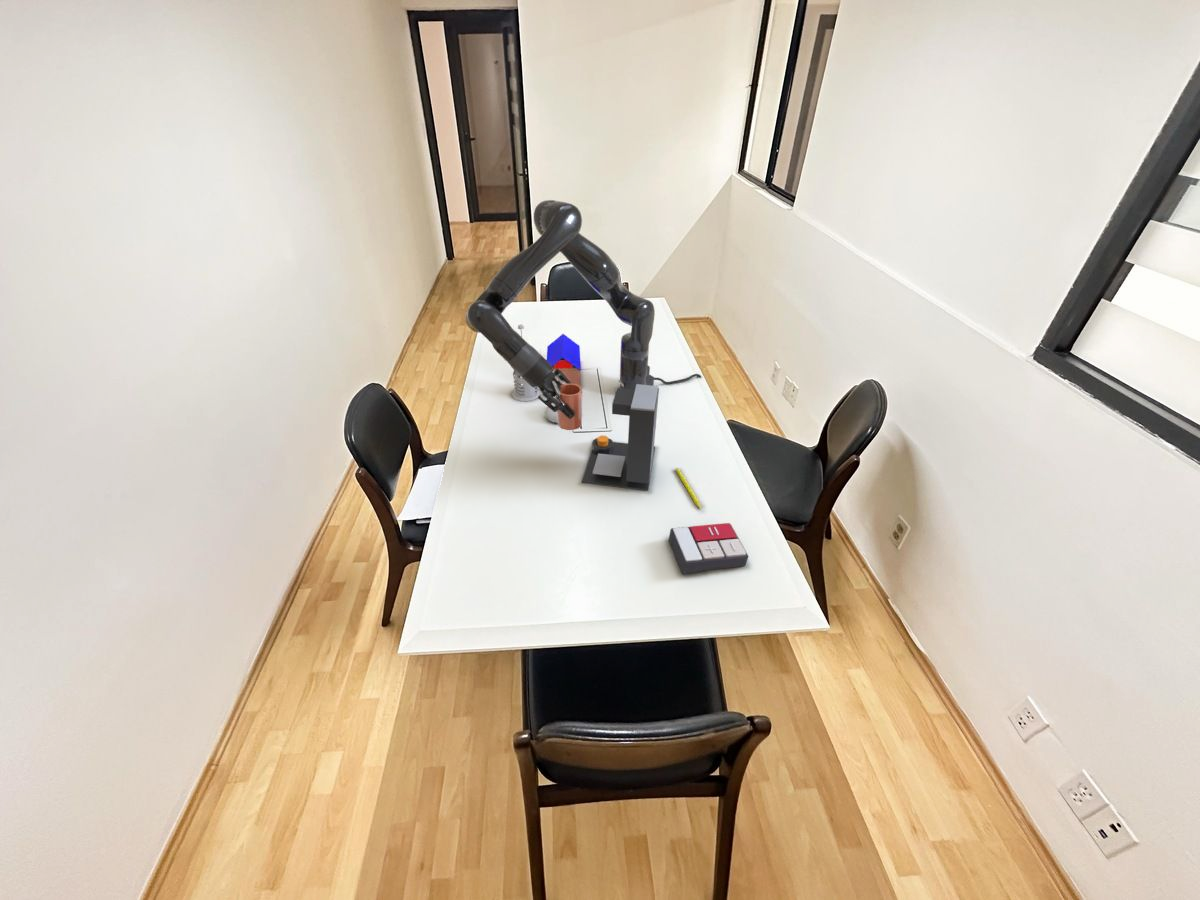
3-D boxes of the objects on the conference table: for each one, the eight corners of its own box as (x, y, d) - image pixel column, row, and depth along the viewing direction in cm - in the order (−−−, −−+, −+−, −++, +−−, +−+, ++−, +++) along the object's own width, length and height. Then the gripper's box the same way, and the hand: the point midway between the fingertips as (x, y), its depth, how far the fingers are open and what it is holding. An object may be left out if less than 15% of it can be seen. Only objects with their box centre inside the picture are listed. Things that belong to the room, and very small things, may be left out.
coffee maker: (591, 477, 139) (591, 403, 126) (599, 451, 149) (600, 380, 135) (648, 484, 137) (654, 409, 124) (653, 457, 147) (659, 385, 133)
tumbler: (573, 415, 145) (573, 381, 139) (586, 425, 140) (586, 391, 134) (553, 421, 142) (552, 387, 136) (566, 432, 137) (565, 398, 131)
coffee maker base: (581, 483, 141) (581, 475, 139) (594, 441, 157) (594, 434, 155) (648, 491, 138) (648, 483, 137) (655, 448, 154) (655, 440, 153)
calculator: (750, 554, 116) (685, 561, 113) (745, 567, 118) (682, 574, 115) (731, 520, 124) (670, 525, 122) (727, 533, 127) (668, 539, 124)
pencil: (675, 471, 145) (675, 468, 145) (678, 471, 146) (679, 468, 145) (698, 510, 132) (699, 507, 132) (702, 510, 133) (703, 507, 132)
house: (546, 388, 183) (545, 357, 176) (548, 362, 199) (546, 333, 192) (581, 387, 184) (580, 357, 177) (579, 362, 200) (579, 333, 193)
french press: (517, 403, 174) (511, 333, 160) (506, 388, 183) (498, 320, 168) (545, 397, 178) (541, 327, 163) (532, 382, 186) (527, 314, 172)
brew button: (596, 446, 151) (596, 441, 150) (598, 440, 153) (598, 434, 152) (607, 447, 150) (607, 442, 149) (609, 441, 153) (609, 435, 152)
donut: (541, 423, 165) (572, 426, 163) (540, 414, 163) (572, 417, 161) (550, 407, 173) (579, 410, 171) (549, 398, 171) (579, 401, 169)
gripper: (531, 369, 125) (580, 416, 130) (547, 344, 137) (591, 388, 142) (511, 386, 129) (559, 431, 134) (528, 361, 140) (572, 403, 146)
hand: (575, 409), depth 138 cm, fingers closed on tumbler, 6 cm apart
